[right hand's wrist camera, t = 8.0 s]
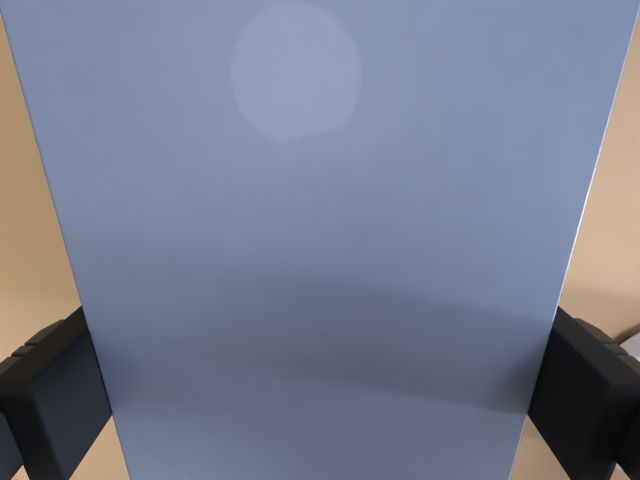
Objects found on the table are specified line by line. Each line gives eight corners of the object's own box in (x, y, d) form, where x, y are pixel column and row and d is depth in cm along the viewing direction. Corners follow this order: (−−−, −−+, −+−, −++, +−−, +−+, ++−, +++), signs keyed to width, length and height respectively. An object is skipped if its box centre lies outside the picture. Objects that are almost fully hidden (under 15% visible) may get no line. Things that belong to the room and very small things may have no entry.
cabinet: (148, -206, 11) (-280, -974, 3) (492, -206, 11) (922, -981, 3) (215, 327, 18) (134, 499, 10) (424, 327, 18) (505, 500, 10)
